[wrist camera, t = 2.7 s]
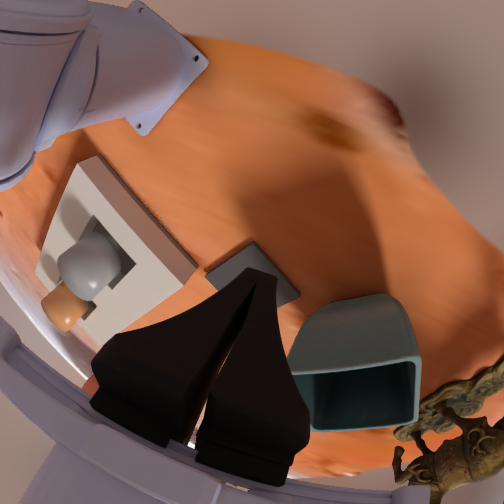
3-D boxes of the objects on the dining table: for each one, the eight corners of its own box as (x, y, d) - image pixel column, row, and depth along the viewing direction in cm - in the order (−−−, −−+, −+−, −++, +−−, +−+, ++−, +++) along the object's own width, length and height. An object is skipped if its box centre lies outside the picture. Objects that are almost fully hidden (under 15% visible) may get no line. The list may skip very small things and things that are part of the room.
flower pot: (298, 287, 24) (274, 374, 17) (402, 266, 20) (422, 355, 13) (324, 355, 27) (310, 433, 20) (410, 341, 23) (418, 423, 16)
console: (48, 262, 34) (34, 273, 32) (100, 153, 23) (77, 163, 20) (111, 332, 37) (100, 346, 35) (198, 266, 26) (183, 285, 23)
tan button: (58, 289, 31) (39, 307, 28) (65, 274, 28) (43, 293, 25) (82, 316, 32) (64, 336, 29) (92, 304, 30) (71, 325, 26)
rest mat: (206, 274, 26) (204, 276, 26) (254, 241, 23) (252, 243, 22) (249, 318, 27) (248, 321, 27) (300, 293, 24) (299, 296, 24)
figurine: (368, 426, 33) (347, 555, 16) (519, 321, 19) (564, 499, 2) (419, 442, 33) (410, 549, 16) (547, 357, 19) (576, 487, 2)
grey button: (79, 248, 25) (52, 269, 22) (94, 222, 23) (64, 244, 19) (109, 283, 26) (85, 307, 23) (129, 262, 24) (101, 288, 21)
